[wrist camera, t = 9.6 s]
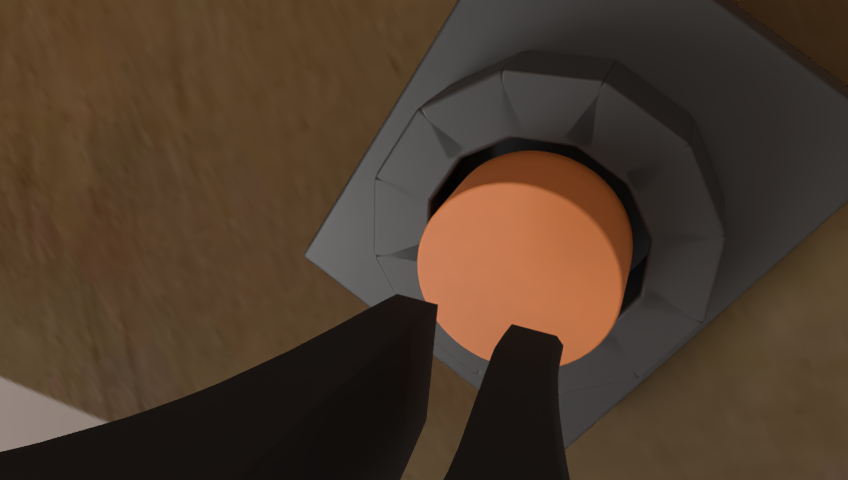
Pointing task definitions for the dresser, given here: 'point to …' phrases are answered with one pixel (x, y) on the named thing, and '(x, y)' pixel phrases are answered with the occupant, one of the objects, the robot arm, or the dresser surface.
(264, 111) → the dresser surface
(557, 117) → the grey button base
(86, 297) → the dresser surface
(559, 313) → the button
